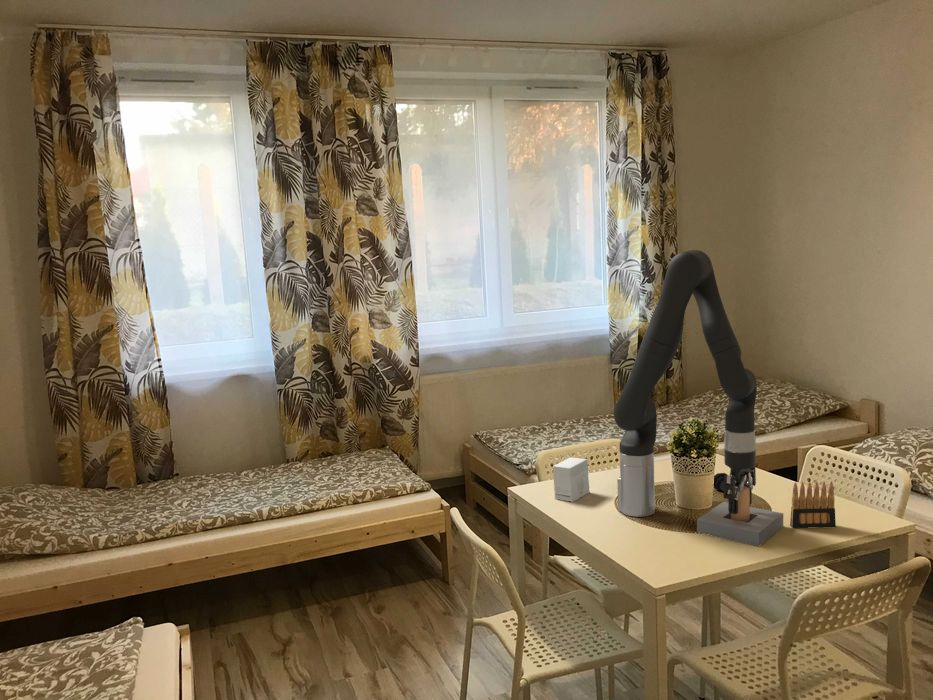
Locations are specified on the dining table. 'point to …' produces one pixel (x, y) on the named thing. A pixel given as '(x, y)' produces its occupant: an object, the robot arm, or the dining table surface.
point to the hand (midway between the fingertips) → (740, 508)
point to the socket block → (740, 525)
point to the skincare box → (571, 479)
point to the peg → (743, 506)
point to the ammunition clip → (813, 507)
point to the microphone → (719, 481)
